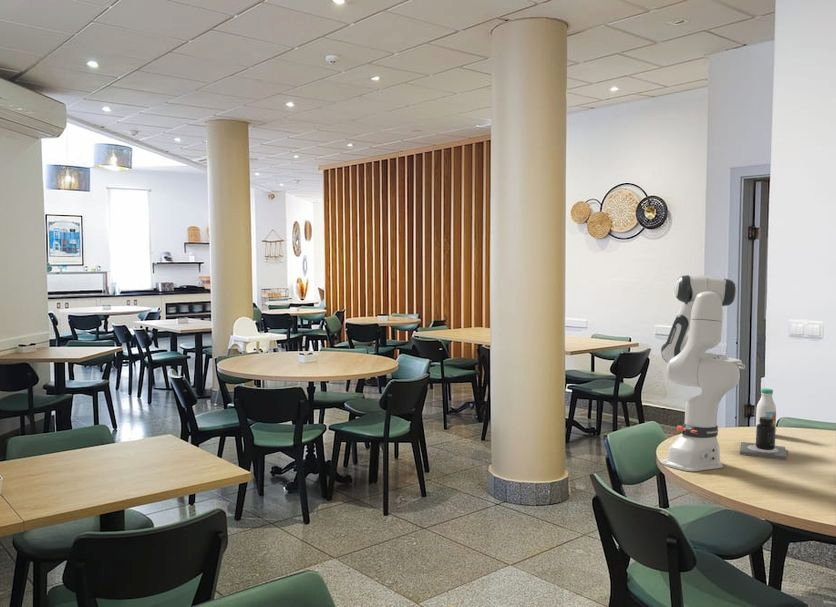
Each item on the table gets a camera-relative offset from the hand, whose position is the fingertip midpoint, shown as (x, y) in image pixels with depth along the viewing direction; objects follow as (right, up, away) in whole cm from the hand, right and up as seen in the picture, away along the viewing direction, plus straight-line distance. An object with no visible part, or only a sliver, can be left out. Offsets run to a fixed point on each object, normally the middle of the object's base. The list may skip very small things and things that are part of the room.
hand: (735, 367), depth 281 cm
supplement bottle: (+8, -31, -7) cm, 33 cm away
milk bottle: (+22, -31, +21) cm, 44 cm away
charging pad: (+7, -33, -8) cm, 34 cm away
